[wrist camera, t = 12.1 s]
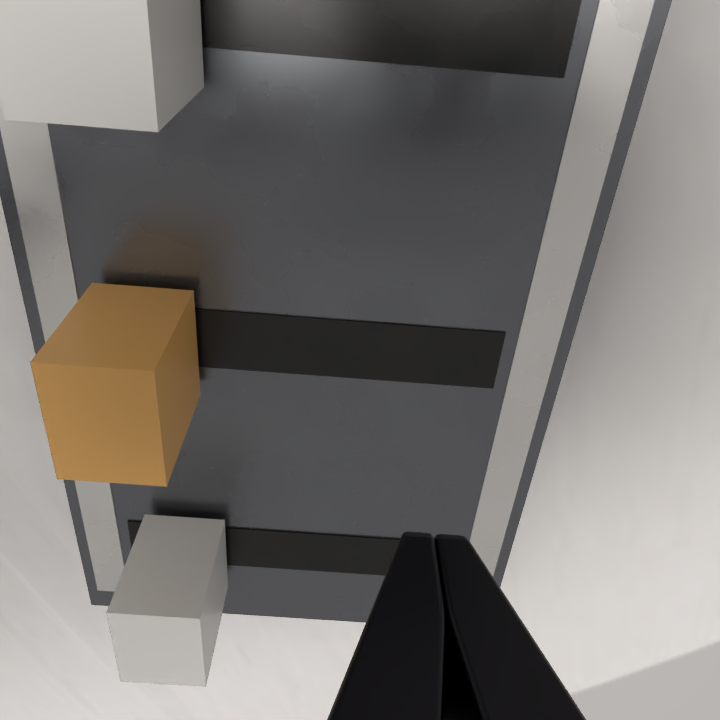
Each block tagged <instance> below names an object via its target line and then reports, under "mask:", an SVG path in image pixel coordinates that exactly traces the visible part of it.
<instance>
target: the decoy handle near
mask: <svg viewBox="0 0 720 720" xmlns="http://www.w3.org/2000/svg"><path fill="white" fill-rule="evenodd" d="M203 88H204V72H203V51H202V30H201V9H200V0H0V99H1V104H2V109H3V113H4V118H5V120H15V121H27V122H39V123H52V124H64V125H76V126H88V127H100V128H112V129H124V130H136V131H148V132H159V131H160V130H161V129H162V128H163V127H164V126H165V125H166V124H167V123H168V122H169V121H170V120H171V119H172V118H173V117H174V116H175V115H176V114H177V113H178V112H179V111H180V110H181V109H182V108H183V107H184V106H185V105H186V104H187V103H189V102H190V101H191V100H192V99H193V98H194V97H195V96H196V95H197V94H198V93H199V92H200V91H201V90H202V89H203Z"/></svg>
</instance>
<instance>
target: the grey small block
mask: <svg viewBox="0 0 720 720" xmlns="http://www.w3.org/2000/svg"><path fill="white" fill-rule="evenodd" d="M227 589H228V576H227V555H226V534H225V520H220V519H205V518H190V517H176V516H161V515H146V514H145V515H144V517H143V520H142V522H141V525H140V528H139V530H138V533H137V535H136V538H135V541H134V543H133V546H132V548H131V551H130V553H129V556H128V559H127V561H126V564H125V566H124V569H123V572H122V574H121V577H120V579H119V582H118V584H117V587H116V590H115V592H114V595H113V597H112V600H111V602H110V605H109V608H108V610H107V618H108V623H109V627H110V632H111V637H112V642H113V647H114V652H115V657H116V661H117V666H118V671H119V676H120V681H121V682H137V683H154V684H170V685H186V686H202V687H206V684H207V679H208V675H209V670H210V666H211V661H212V657H213V652H214V647H215V643H216V638H217V634H218V629H219V625H220V620H221V616H222V611H223V607H224V602H225V598H226V593H227Z"/></svg>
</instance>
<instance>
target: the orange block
mask: <svg viewBox="0 0 720 720" xmlns="http://www.w3.org/2000/svg"><path fill="white" fill-rule="evenodd" d="M30 363H31V368H32V372H33V376H34V381H35V385H36V390H37V394H38V398H39V403H40V407H41V411H42V416H43V420H44V424H45V429H46V433H47V437H48V442H49V446H50V450H51V455H52V459H53V463H54V468H55V472H56V476H57V479H64V480H78V481H92V482H107V483H121V484H136V485H150V486H165V487H167V485H168V482H169V479H170V477H171V474H172V471H173V469H174V466H175V463H176V460H177V458H178V455H179V452H180V449H181V447H182V444H183V441H184V439H185V436H186V433H187V430H188V428H189V425H190V422H191V420H192V417H193V414H194V411H195V409H196V406H197V403H198V400H199V398H200V395H201V394H200V378H199V363H198V348H197V333H196V318H195V303H194V290H181V289H168V288H155V287H142V286H129V285H116V284H103V283H92V284H91V285H90V286H89V287H88V289H87V290H86V291H85V293H84V294H83V295H82V296H81V298H80V299H79V300H78V302H77V303H76V304H75V305H74V307H73V308H72V309H71V311H70V312H69V313H68V314H67V316H66V317H65V318H64V319H63V321H62V322H61V323H60V325H59V326H58V327H57V328H56V330H55V331H54V332H53V334H52V335H51V336H50V337H49V339H48V340H47V341H46V343H45V344H44V345H43V346H42V348H41V349H40V350H39V352H38V353H37V354H36V355H35V357H34V358H33V359H32V361H31V362H30Z"/></svg>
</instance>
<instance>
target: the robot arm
mask: <svg viewBox="0 0 720 720" xmlns="http://www.w3.org/2000/svg"><path fill="white" fill-rule="evenodd" d="M327 720H586V719H585V717H584V716H583V714H582V713H581V712H580V710H579V708H578V707H577V705H576V704H575V702H574V700H573V699H572V697H571V696H570V694H569V693H568V691H567V690H566V688H565V687H564V685H563V684H562V682H561V681H560V679H559V677H558V676H557V674H556V673H555V671H554V670H553V668H552V667H551V665H550V664H549V662H548V661H547V659H546V658H545V656H544V654H543V653H542V651H541V650H540V648H539V647H538V645H537V644H536V642H535V641H534V639H533V638H532V636H531V635H530V633H529V631H528V630H527V628H526V627H525V625H524V624H523V622H522V621H521V619H520V618H519V616H518V615H517V613H516V611H515V610H514V608H513V607H512V605H511V604H510V602H509V601H508V599H507V598H506V596H505V595H504V593H503V592H502V590H501V588H500V587H499V585H498V584H497V582H496V581H495V579H494V578H493V576H492V575H491V573H490V572H489V570H488V569H487V567H486V565H485V564H484V562H483V561H482V559H481V558H480V556H479V555H478V553H477V552H476V550H475V549H474V547H473V546H472V544H471V542H470V541H469V540H468V539H467V538H466V537H465V536H462V535H450V534H438V535H436V536H435V537H434V536H433V535H432V534H431V533H423V532H410V531H406V532H404V533H403V534H402V536H401V538H400V540H399V543H398V545H397V548H396V550H395V553H394V555H393V558H392V560H391V563H390V565H389V568H388V570H387V572H386V575H385V577H384V580H383V582H382V585H381V587H380V590H379V592H378V595H377V597H376V600H375V602H374V605H373V607H372V610H371V612H370V615H369V617H368V620H367V622H366V625H365V627H364V630H363V632H362V635H361V637H360V640H359V642H358V645H357V647H356V650H355V652H354V655H353V657H352V660H351V662H350V664H349V667H348V669H347V672H346V674H345V677H344V679H343V682H342V684H341V687H340V689H339V692H338V694H337V697H336V699H335V702H334V704H333V707H332V709H331V712H330V714H329V717H328V719H327Z"/></svg>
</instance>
